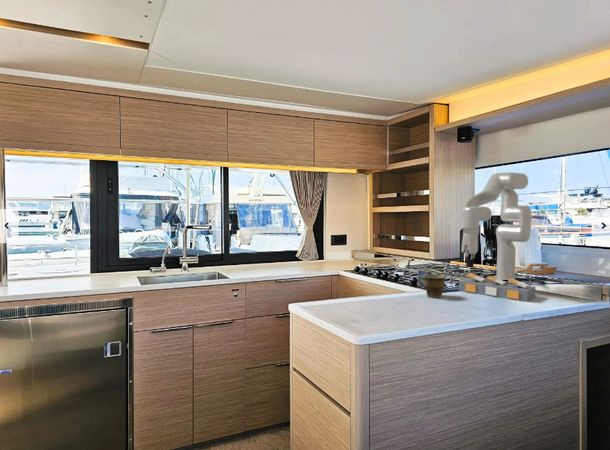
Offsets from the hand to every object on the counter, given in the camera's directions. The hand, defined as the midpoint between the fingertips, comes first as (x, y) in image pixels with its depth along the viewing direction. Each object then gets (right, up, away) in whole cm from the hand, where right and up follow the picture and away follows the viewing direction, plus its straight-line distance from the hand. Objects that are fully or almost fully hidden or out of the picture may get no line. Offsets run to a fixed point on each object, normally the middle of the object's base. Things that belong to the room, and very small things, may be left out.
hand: (469, 266), depth 216 cm
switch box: (+10, -13, -8) cm, 18 cm away
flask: (-21, -12, +8) cm, 25 cm away
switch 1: (+3, -6, -1) cm, 6 cm away
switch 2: (+10, -6, -8) cm, 14 cm away
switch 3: (+17, -7, -15) cm, 24 cm away
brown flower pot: (-23, -13, -12) cm, 29 cm away
